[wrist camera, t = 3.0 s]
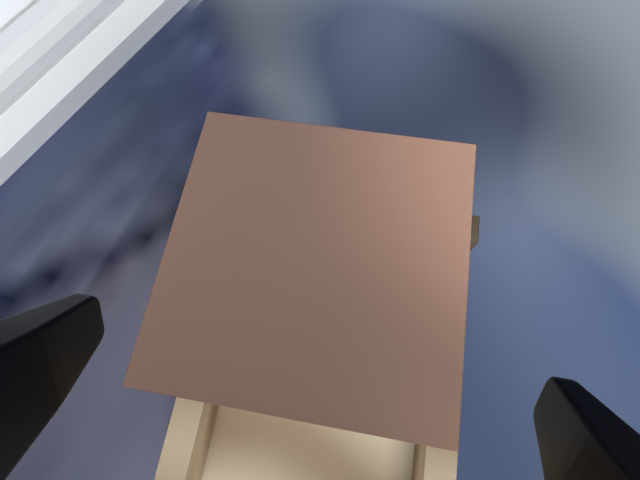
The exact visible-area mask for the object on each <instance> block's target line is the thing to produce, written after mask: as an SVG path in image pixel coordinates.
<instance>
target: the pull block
mask: <svg viewBox="0 0 640 480" xmlns="http://www.w3.org/2000/svg"><path fill="white" fill-rule="evenodd" d="M475 154H476V145H473V144H466V143H458V142H450V141H442V140H434V139H425V138H418V137H409V136H401V135H393V134H385V133H377V132H369V131H361V130H353V129H345V128H337V127H329V126H321V125H313V124H305V123H297V122H289V121H281V120H273V119H264V118H256V117H248V116H240V115H232V114H224V113H216V112H208V113H207V116H206V119H205V122H204V126H203V129H202V132H201V135H200V138H199V142H198V145H197V148H196V151H195V154H194V158H193V161H192V164H191V167H190V170H189V174H188V177H187V180H186V183H185V186H184V189H183V193H182V196H181V199H180V202H179V205H178V209H177V212H176V215H175V218H174V221H173V225H172V228H171V231H170V234H169V237H168V241H167V244H166V247H165V250H164V253H163V257H162V260H161V263H160V266H159V269H158V273H157V276H156V279H155V282H154V285H153V289H152V292H151V295H150V298H149V301H148V305H147V308H146V311H145V314H144V317H143V320H142V324H141V327H140V330H139V333H138V336H137V340H136V343H135V346H134V349H133V352H132V356H131V359H130V362H129V365H128V368H127V372H126V375H125V378H124V381H123V384H122V387H127V388H132V389H138V390H143V391H148V392H153V393H158V394H163V395H168V396H173V397H179V398H184V399H189V400H194V401H199V402H204V403H209V404H214V405H219V406H225V407H230V408H235V409H240V410H245V411H250V412H255V413H260V414H265V415H271V416H276V417H281V418H286V419H291V420H296V421H301V422H306V423H311V424H317V425H322V426H327V427H332V428H337V429H342V430H347V431H352V432H357V433H363V434H368V435H373V436H378V437H383V438H388V439H393V440H398V441H404V442H409V443H414V444H419V445H424V446H429V447H434V448H439V449H444V450H450V451H455V452H458V448H459V431H460V413H461V397H462V379H463V362H464V345H465V328H466V327H465V326H466V310H467V293H468V276H469V259H470V242H471V224H472V206H473V190H474V172H475Z"/></svg>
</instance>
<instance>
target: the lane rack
mask: <svg viewBox="0 0 640 480" xmlns="http://www.w3.org/2000/svg"><path fill="white" fill-rule="evenodd" d="M478 235H479V217H478V216H472V224H471V242H470V250H471V249H472V248H473V247H474V246H475V245H476V244H477V243H478ZM457 458H458V452H455V451H450V450H444V449H439V448H434V447H429V446H424V445H419V444H414V443H409V442H404V441H398V440H393V439H388V438H383V437H378V436H373V435H368V434H363V433H357V432H352V431H347V430H342V429H337V428H332V427H327V426H322V425H317V424H311V423H306V422H301V421H296V420H291V419H286V418H281V417H276V416H271V415H265V414H260V413H255V412H250V411H245V410H240V409H235V408H230V407H225V406H219V405H214V404H209V403H204V402H199V401H194V400H189V399H184V398H179V397H176V400H175V404H174V408H173V412H172V415H171V419H170V423H169V426H168V430H167V434H166V437H165V441H164V445H163V449H162V452H161V456H160V460H159V463H158V467H157V471H156V474H155V478H154V480H456V474H457Z"/></svg>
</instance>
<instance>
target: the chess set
mask: <svg viewBox="0 0 640 480" xmlns="http://www.w3.org/2000/svg"><path fill="white" fill-rule="evenodd" d="M189 1H190V0H0V186H1V185H2V184H3V183H4V182H5V181H6V180H7V179H8V178H9V177H10V176H11V175H12V174H13V173H14V172H15V171H16V170H17V169H18V168H19V167H20V166H21V165H22V164H23V163H24V162H25V161H26V160H28V159H29V158H30V157H31V156H32V155H33V154H34V153H35V152H36V151H37V150H38V149H39V148H40V147H41V146H42V145H43V144H44V143H45V142H46V141H47V140H48V139H49V138H50V137H51V136H52V135H53V134H54V133H55V132H56V131H57V130H58V129H59V128H60V127H61V126H62V125H63V124H64V123H65V122H66V121H67V120H68V119H69V118H70V117H71V116H72V115H73V114H74V113H75V112H76V111H77V110H78V109H79V108H81V107H82V106H83V105H84V104H85V103H86V102H87V101H88V100H89V99H90V98H91V97H92V96H93V95H94V94H95V93H96V92H97V91H98V90H99V89H100V88H101V87H102V86H103V85H104V84H105V83H106V82H107V81H108V80H109V79H110V78H111V77H112V76H113V75H114V74H115V73H116V72H117V71H118V70H119V69H120V68H121V67H122V66H123V65H124V64H125V63H126V62H127V61H128V60H129V59H130V58H131V57H132V56H133V55H135V54H136V53H137V52H138V51H139V50H140V49H141V48H142V47H143V46H144V45H145V44H146V43H147V42H148V41H149V40H150V39H151V38H152V37H153V36H154V35H155V34H156V33H157V32H158V31H159V30H160V29H161V28H162V27H163V26H164V25H165V24H166V23H167V22H168V21H169V20H170V19H171V18H172V17H173V16H174V15H175V14H176V13H177V12H178V11H179V10H180V9H181V8H182V7H183V6H184V5H185V4H186V3H188V2H189ZM200 1H201V2H202V1H203V0H200Z"/></svg>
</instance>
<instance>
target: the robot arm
mask: <svg viewBox="0 0 640 480" xmlns="http://www.w3.org/2000/svg"><path fill="white" fill-rule="evenodd" d="M103 334H104V324H103V318H102V313H101V308H100V303H99V300H98V299H97V298H96V297H94V296H88V295H83V294H74V295H71V296H68V297H65V298H63V299H60V300H57V301H54V302H51V303H48V304H45V305H43V306H40V307H37V308H34V309H31V310H28V311H25V312H23V313H20V314H17V315H14V316H11V317H8V318H6V319H3V320H0V480H5V479H6V478H7V476H8V475H9V474H10V473H11V471H12V470H13V469H14V467H15V466H16V465H17V463H18V462H19V461H20V459H21V458H22V457H23V455H24V454H25V453H26V451H27V450H28V449H29V447H30V446H31V445H32V443H33V442H34V441H35V439H36V438H37V437H38V435H39V434H40V433H41V431H42V430H43V429H44V427H45V426H46V425H47V423H48V422H49V421H50V419H51V418H52V417H53V415H54V414H55V413H56V411H57V410H58V409H59V407H60V406H61V404H62V403H63V401H64V400H65V398H66V397H67V395H68V394H69V392H70V390H71V389H72V387H73V386H74V384H75V382H76V381H77V379H78V377H79V376H80V374H81V373H82V371H83V369H84V368H85V366H86V364H87V363H88V361H89V360H90V358H91V356H92V355H93V353H94V351H95V350H96V348H97V347H98V345H99V343H100V342H101V340H102V337H103ZM534 424H535V430H536V435H537V440H538V446H539V452H540V457H541V463H542V468H543V474H544V479H545V480H640V434H639V433H637V432H636V431H635V430H634V429H633V428H631V427H630V426H629V425H628V424H626V423H625V422H624V421H623V420H622V419H621V418H619V417H618V416H617V415H616V414H614V413H613V412H612V411H611V410H610V409H609V408H607V407H606V406H605V405H604V404H603V403H601V402H600V401H599V400H598V399H597V398H596V397H594V396H593V395H592V394H591V393H590V392H588V391H587V390H586V389H585V388H584V387H582V386H581V385H580V384H579V383H577V382H576V381H574V380H571V379H565V378H559V377H551V378H549V379H548V380H547V382H546V383H545V386H544V388H543V390H542V392H541V394H540V396H539V399H538V401H537V403H536V405H535V408H534Z"/></svg>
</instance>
